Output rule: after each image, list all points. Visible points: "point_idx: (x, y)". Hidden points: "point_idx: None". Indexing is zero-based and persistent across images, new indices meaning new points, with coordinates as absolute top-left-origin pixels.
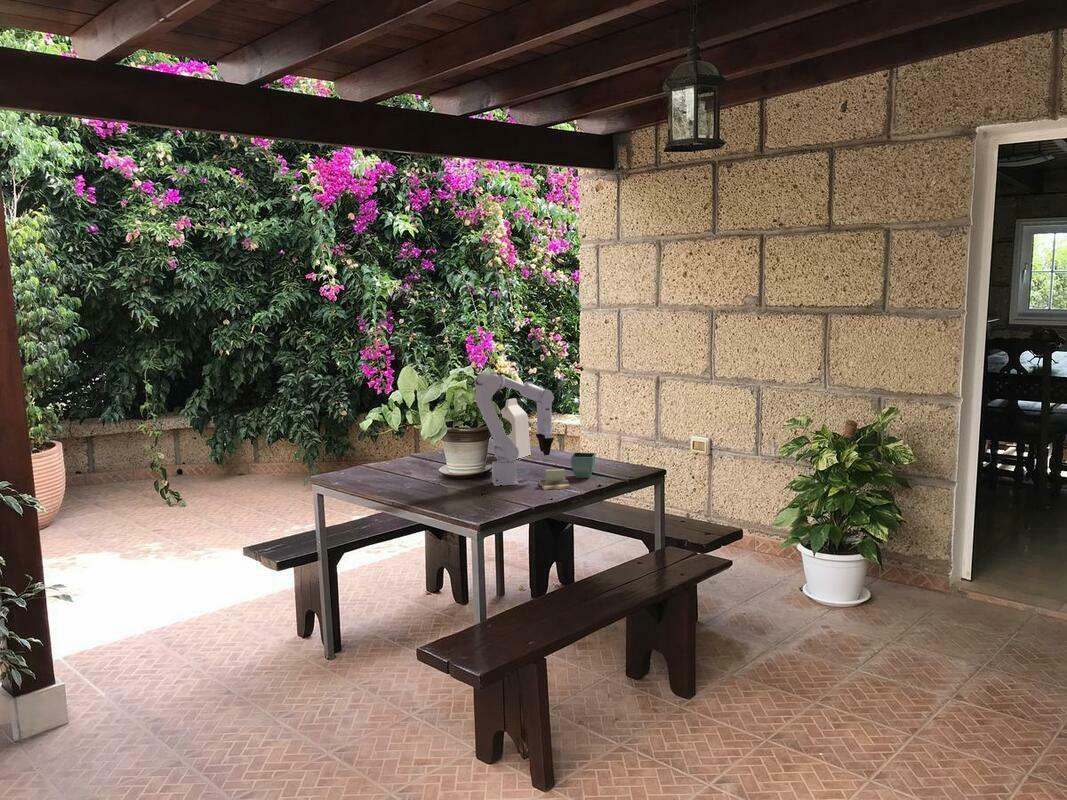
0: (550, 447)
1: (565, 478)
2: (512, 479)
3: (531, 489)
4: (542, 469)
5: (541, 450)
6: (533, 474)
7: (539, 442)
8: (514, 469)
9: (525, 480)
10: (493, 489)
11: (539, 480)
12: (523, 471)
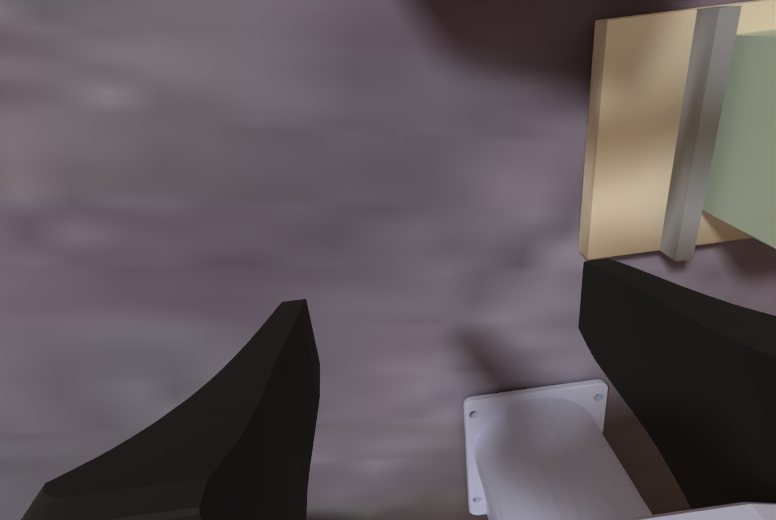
0: (722, 305)
1: (737, 13)
2: (603, 436)
3: (760, 299)
4: (27, 208)
5: (318, 369)
6: (257, 286)
7: (303, 500)
8: (629, 485)
9: (469, 339)
10: (659, 488)
11: (597, 253)
12: (138, 357)
